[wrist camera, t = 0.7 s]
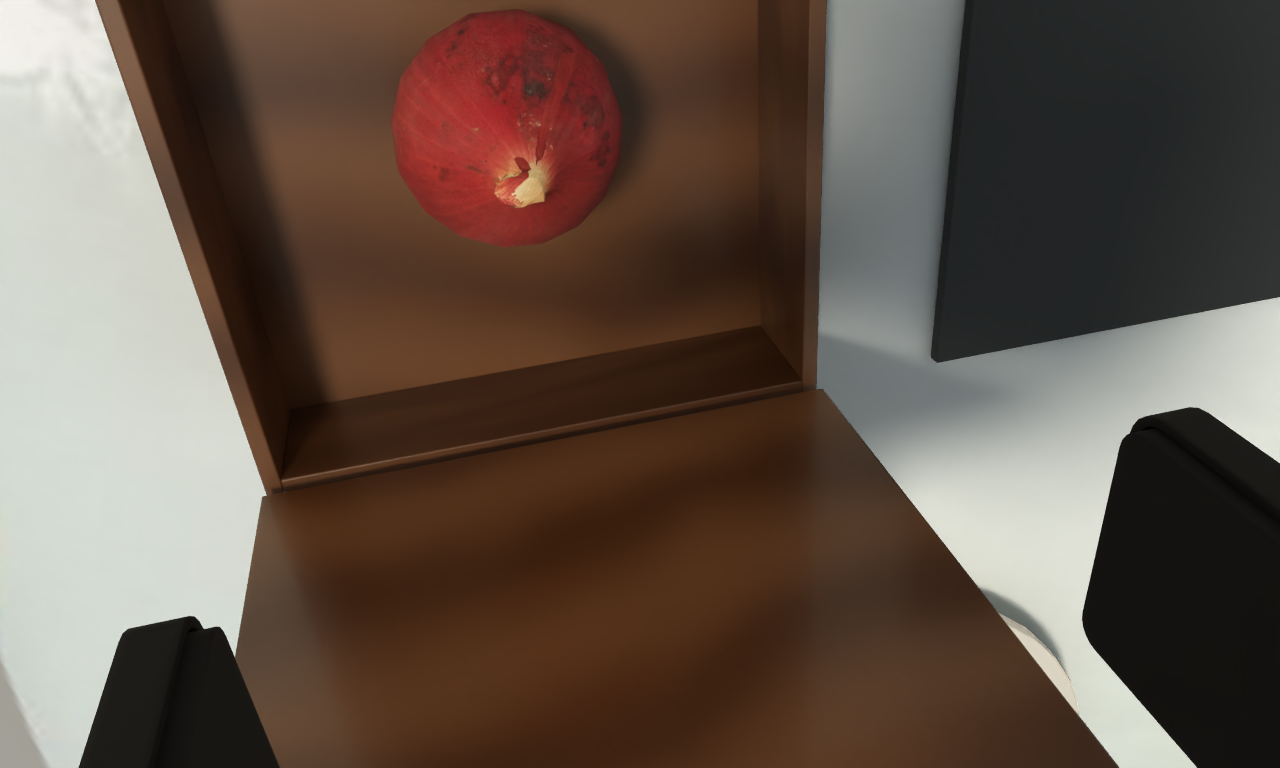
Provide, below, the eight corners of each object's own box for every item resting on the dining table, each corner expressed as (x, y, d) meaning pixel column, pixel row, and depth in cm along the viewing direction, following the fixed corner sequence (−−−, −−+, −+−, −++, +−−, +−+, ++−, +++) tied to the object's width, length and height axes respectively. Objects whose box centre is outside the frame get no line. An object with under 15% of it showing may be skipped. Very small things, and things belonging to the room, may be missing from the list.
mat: (991, -274, 26) (1001, -275, 26) (1584, -320, 30) (1601, -322, 29) (930, 357, 37) (936, 363, 36) (1373, 272, 40) (1384, 277, 40)
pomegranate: (421, -43, 26) (437, 5, 19) (620, 30, 28) (698, 98, 21) (368, 162, 28) (366, 271, 21) (556, 216, 30) (607, 330, 23)
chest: (57, -280, 22) (-10, -300, 18) (766, -326, 25) (837, -353, 21) (280, 417, 32) (266, 497, 28) (768, 328, 34) (817, 391, 31)
